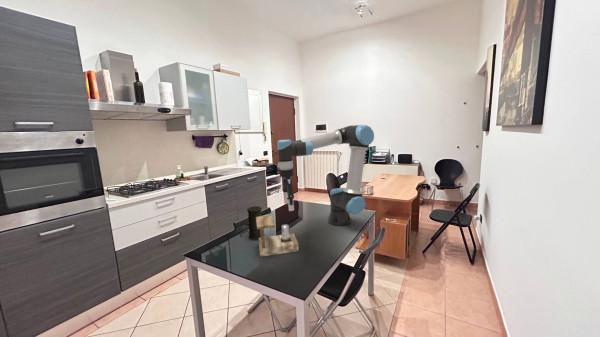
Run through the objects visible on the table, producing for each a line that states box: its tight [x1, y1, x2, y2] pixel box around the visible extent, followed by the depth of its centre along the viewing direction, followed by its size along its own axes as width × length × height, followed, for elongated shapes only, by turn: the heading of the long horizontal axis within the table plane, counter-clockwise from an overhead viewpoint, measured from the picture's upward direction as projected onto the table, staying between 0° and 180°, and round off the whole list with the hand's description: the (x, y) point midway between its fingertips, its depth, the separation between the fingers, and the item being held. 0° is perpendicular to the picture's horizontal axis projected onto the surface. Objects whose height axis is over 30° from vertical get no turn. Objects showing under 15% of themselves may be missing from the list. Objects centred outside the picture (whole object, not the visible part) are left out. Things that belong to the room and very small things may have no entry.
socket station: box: [256, 215, 300, 258], centre depth 132 cm, size 20×15×16 cm
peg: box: [280, 224, 290, 243], centre depth 133 cm, size 4×4×12 cm
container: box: [247, 205, 263, 241], centre depth 147 cm, size 9×9×18 cm
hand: (289, 206), depth 135 cm, fingers open, 13 cm apart
